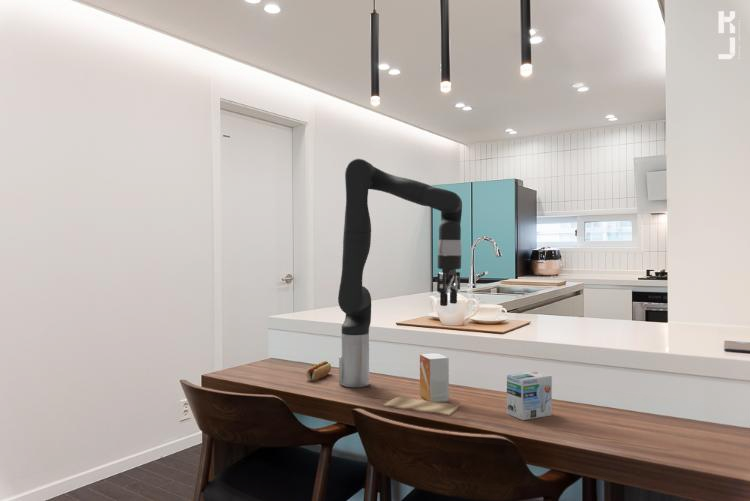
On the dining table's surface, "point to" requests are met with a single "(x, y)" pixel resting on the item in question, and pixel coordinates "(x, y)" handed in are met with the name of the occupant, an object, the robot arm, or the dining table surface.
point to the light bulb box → (529, 395)
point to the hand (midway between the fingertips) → (448, 304)
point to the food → (318, 371)
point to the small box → (434, 377)
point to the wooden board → (422, 406)
